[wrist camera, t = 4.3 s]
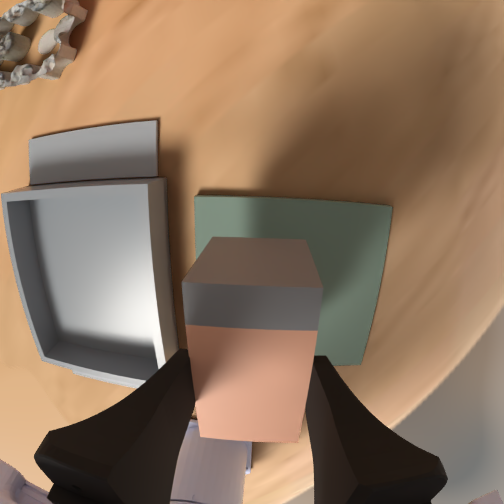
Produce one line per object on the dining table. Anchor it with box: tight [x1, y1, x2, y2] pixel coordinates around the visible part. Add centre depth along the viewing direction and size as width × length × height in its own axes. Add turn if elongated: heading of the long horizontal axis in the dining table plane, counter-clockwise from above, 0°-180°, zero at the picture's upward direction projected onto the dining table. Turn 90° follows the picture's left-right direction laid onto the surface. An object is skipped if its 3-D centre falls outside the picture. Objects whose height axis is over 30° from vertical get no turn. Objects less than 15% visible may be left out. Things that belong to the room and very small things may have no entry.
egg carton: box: [0, 0, 88, 90], centre depth 13 cm, size 11×8×4 cm
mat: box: [194, 195, 393, 366], centre depth 20 cm, size 12×12×1 cm
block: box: [182, 236, 323, 443], centre depth 13 cm, size 8×4×6 cm, turn 179°
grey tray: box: [1, 120, 179, 388], centre depth 19 cm, size 21×12×3 cm, turn 178°
